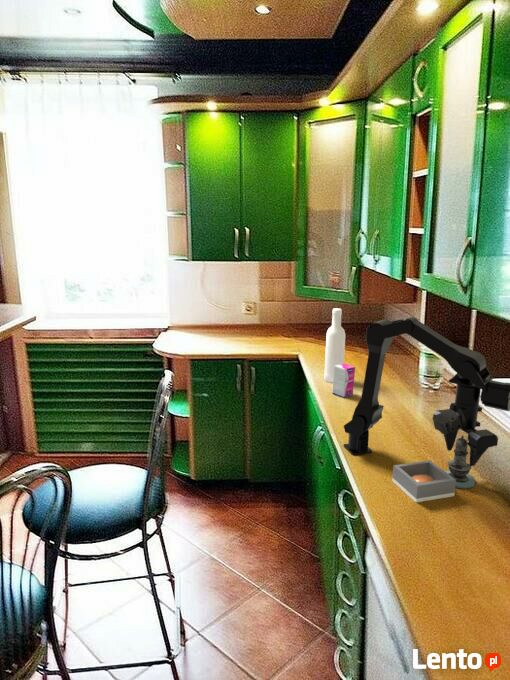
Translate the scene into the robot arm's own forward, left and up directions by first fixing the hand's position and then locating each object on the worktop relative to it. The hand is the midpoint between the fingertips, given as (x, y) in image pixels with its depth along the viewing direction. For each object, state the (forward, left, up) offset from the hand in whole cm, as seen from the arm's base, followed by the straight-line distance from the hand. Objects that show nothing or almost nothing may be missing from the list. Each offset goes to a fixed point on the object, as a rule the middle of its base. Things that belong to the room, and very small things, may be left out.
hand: (460, 457), depth 141 cm
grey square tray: (+1, -11, -7) cm, 13 cm away
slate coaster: (0, 0, -7) cm, 7 cm away
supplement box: (-69, 0, -7) cm, 69 cm away
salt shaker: (0, 0, -6) cm, 6 cm away
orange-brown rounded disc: (+1, -11, -5) cm, 13 cm away
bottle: (-86, +4, -7) cm, 86 cm away
